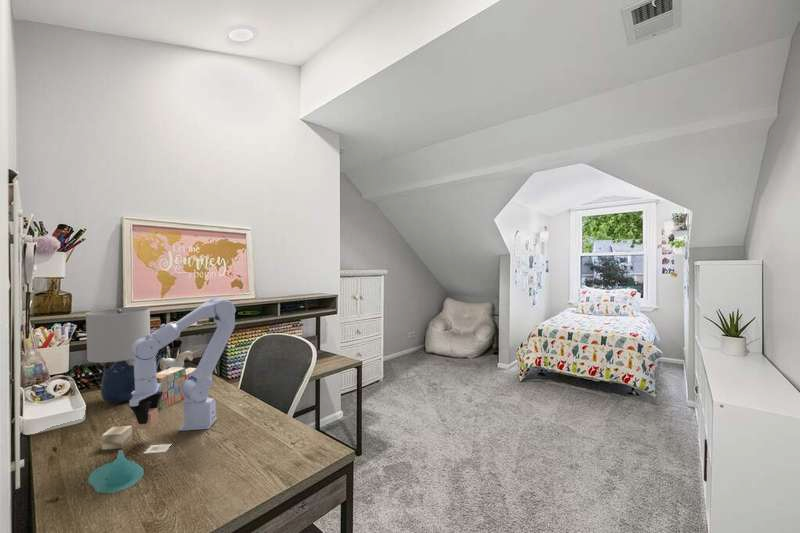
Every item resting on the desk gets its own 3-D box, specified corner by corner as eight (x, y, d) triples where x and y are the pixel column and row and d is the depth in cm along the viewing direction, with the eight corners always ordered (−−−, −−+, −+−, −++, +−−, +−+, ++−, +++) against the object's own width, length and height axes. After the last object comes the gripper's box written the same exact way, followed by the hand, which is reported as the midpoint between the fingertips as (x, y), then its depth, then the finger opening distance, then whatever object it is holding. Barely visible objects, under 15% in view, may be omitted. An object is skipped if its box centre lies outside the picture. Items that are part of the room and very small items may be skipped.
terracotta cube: (158, 421, 119) (158, 407, 119) (151, 428, 114) (150, 413, 114) (143, 422, 118) (142, 408, 118) (135, 429, 114) (134, 414, 114)
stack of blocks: (190, 388, 163) (189, 360, 162) (202, 389, 161) (201, 361, 161) (147, 408, 142) (147, 376, 141) (161, 409, 141) (161, 377, 140)
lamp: (152, 402, 147) (149, 310, 145) (85, 415, 135) (82, 315, 134) (151, 387, 163) (149, 304, 162) (92, 397, 152) (89, 308, 151)
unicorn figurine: (194, 381, 172) (193, 352, 171) (151, 381, 171) (150, 352, 171) (201, 376, 179) (201, 348, 178) (161, 376, 178) (160, 348, 178)
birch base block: (132, 439, 118) (132, 425, 117) (122, 448, 112) (121, 433, 112) (113, 440, 117) (112, 426, 117) (102, 450, 111) (101, 435, 111)
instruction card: (172, 444, 114) (172, 443, 114) (165, 452, 110) (165, 451, 110) (151, 445, 113) (151, 445, 113) (143, 453, 109) (143, 452, 109)
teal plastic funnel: (131, 454, 109) (130, 425, 109) (155, 479, 97) (155, 447, 96) (78, 472, 100) (77, 441, 100) (97, 504, 87) (95, 468, 87)
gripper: (144, 370, 122) (146, 410, 123) (117, 386, 108) (119, 431, 109) (167, 369, 123) (168, 409, 124) (143, 384, 109) (145, 429, 110)
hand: (147, 419), depth 116 cm, fingers closed on terracotta cube, 4 cm apart
